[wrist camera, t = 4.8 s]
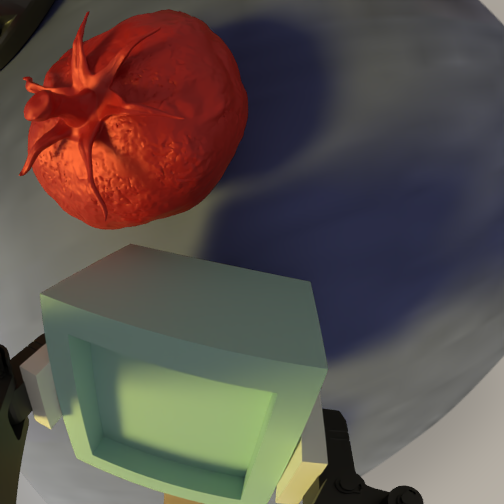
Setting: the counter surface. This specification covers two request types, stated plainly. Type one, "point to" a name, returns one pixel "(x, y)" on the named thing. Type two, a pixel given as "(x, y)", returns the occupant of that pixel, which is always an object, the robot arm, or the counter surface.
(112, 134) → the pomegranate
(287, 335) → the cup block
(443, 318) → the counter surface
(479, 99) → the counter surface
